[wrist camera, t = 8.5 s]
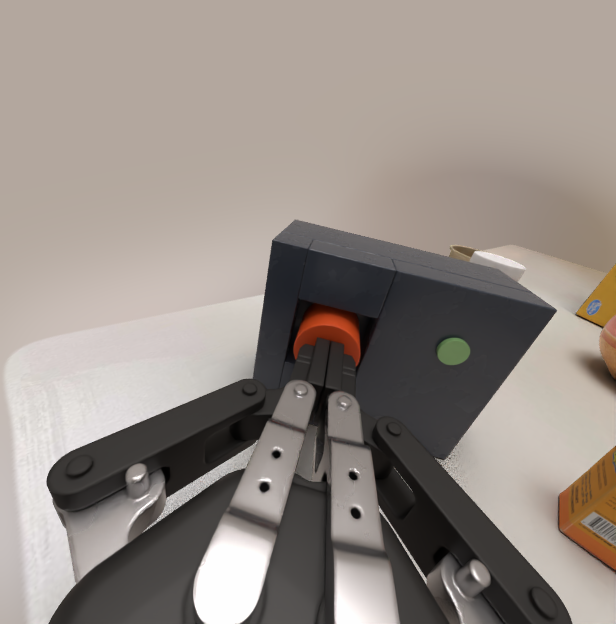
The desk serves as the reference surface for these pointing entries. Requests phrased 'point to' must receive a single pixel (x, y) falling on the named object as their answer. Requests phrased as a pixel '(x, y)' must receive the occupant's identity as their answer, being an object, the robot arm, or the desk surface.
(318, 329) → the knob
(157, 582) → the robot arm
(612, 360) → the vase
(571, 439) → the desk surface
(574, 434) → the desk surface
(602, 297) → the game box
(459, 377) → the control box
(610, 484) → the supplement box
